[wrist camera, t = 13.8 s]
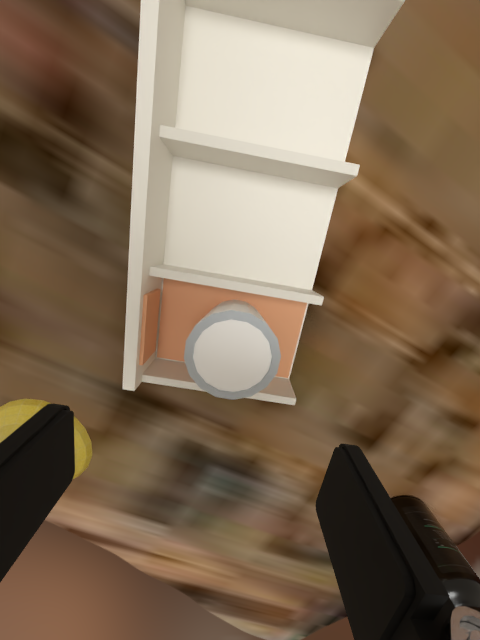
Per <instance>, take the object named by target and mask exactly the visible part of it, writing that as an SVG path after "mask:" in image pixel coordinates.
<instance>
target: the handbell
mask: <svg viewBox="0 0 480 640" xmlns="http://www.w3.org/2000/svg"><path fill="white" fill-rule="evenodd" d="M47 404H50V403H49V402H46V401H43V400H34V399H21V400H16V401H11V402H8V403H7V404H5V405H3V406H1V407H0V443H1V442H2V441H3V440H4V439H6V438H7V437H8V436H9V435H10V434H12V433H13V432H14V431H15V430H16V429H18V428H19V427H20V426H21V425H22V424H24V423H25V422H26V421H27V420H28V419H30V418H31V417H32V416H33V415H35V414H36V413H37V412H38V411H39V410H41V409H42V408H43V407H44V406H46V405H47ZM51 404H52V403H51ZM74 446H75V474H74V477H73V479H74V478H76V477H78V476H80V475H81V474H82V472H83V471H84V470H85V469H86V468H87V467H88V465H89V463H90V460H91V457H92V445H91V440H90V438H89V436H88V433H87V431H86V429H85V428H84V426H83V425H82V424H81V423H80V422H79V421H78V420H77V419H76V417H75V416H74Z"/></svg>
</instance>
